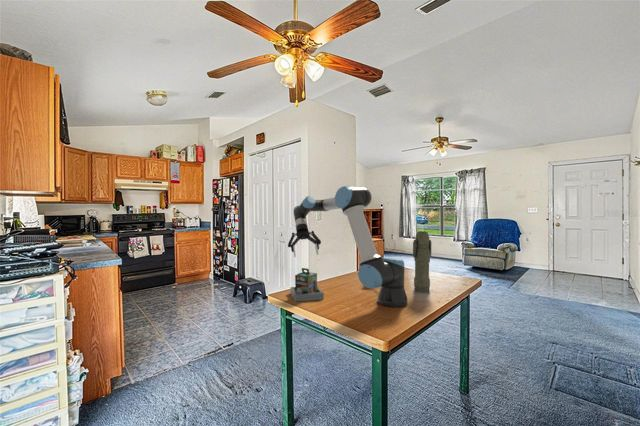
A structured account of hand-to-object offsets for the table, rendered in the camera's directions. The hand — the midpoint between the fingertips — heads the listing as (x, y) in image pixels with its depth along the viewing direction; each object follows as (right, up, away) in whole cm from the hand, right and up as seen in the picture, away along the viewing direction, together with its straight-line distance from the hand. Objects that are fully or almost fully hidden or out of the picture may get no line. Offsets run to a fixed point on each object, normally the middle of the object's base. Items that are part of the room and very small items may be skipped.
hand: (306, 254), depth 173 cm
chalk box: (0, -21, -11) cm, 23 cm away
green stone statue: (+69, -21, +1) cm, 72 cm away
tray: (+1, -22, -11) cm, 24 cm away
